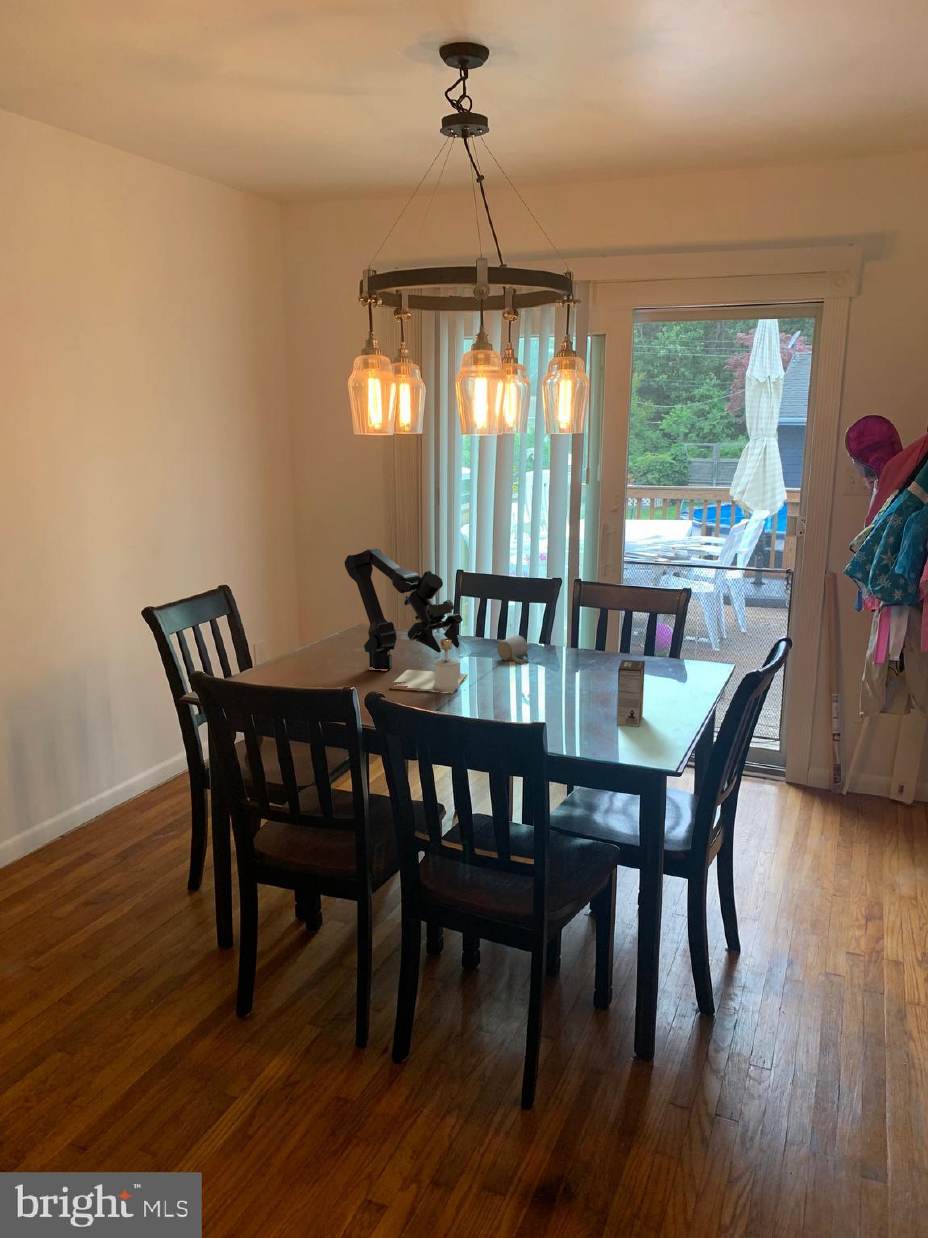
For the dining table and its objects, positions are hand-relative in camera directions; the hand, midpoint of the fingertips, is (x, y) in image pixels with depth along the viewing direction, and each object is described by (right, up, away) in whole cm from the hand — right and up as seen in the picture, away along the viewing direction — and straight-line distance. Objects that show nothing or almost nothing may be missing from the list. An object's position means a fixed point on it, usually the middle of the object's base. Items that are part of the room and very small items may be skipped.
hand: (449, 649), depth 267 cm
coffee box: (+49, -19, -24) cm, 58 cm away
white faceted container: (0, -11, +4) cm, 12 cm away
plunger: (-1, -6, +2) cm, 7 cm away
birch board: (-7, -11, +10) cm, 16 cm away
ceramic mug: (+22, -5, +36) cm, 42 cm away
